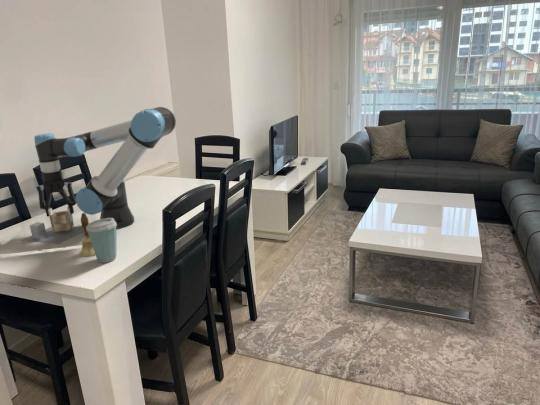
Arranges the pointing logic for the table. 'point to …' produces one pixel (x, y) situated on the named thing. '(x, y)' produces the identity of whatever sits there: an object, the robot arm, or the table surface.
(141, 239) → the table surface
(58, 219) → the hollow wooden cube frame
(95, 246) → the disposable coffee cup
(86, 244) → the hand bell
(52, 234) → the base board
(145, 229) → the table surface
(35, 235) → the steel block
